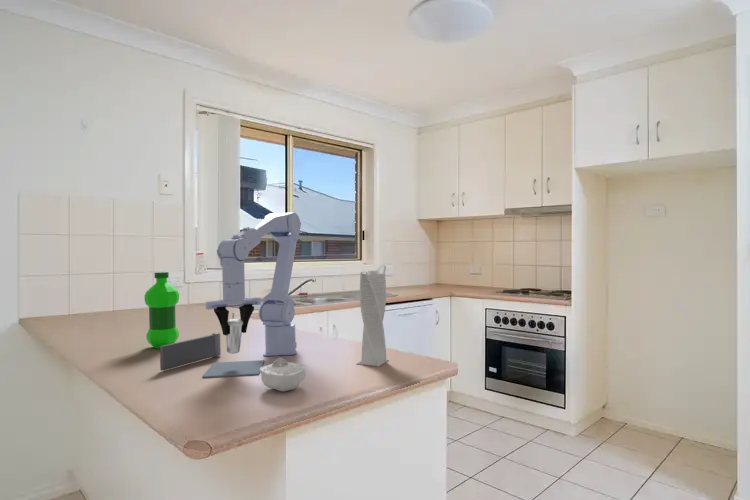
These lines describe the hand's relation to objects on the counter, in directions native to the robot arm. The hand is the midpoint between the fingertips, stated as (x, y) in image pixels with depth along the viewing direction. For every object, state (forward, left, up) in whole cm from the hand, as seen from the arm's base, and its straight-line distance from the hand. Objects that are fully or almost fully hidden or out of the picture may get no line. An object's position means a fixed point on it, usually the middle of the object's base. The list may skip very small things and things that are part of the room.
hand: (234, 333), depth 125 cm
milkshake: (+1, -1, -5) cm, 5 cm away
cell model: (-14, +20, -10) cm, 26 cm away
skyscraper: (-38, +1, -10) cm, 39 cm away
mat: (0, 0, -10) cm, 10 cm away
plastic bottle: (+29, -34, -10) cm, 46 cm away
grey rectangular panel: (+13, -9, -9) cm, 19 cm away
